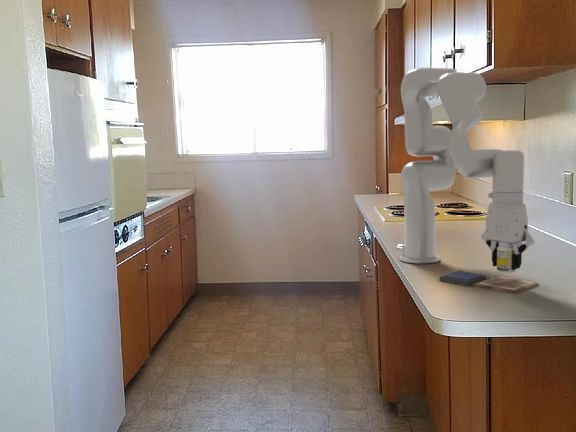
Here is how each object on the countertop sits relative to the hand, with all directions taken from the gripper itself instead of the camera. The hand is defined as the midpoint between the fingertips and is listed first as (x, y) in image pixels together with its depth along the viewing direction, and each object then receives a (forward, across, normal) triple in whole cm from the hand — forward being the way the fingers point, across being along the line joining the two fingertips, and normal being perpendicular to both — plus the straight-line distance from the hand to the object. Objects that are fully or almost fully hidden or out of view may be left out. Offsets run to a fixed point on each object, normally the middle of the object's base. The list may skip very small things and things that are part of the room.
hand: (506, 266), depth 160 cm
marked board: (+5, 0, 0) cm, 5 cm away
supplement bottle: (+1, 0, 0) cm, 1 cm away
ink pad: (+5, -11, -3) cm, 13 cm away
